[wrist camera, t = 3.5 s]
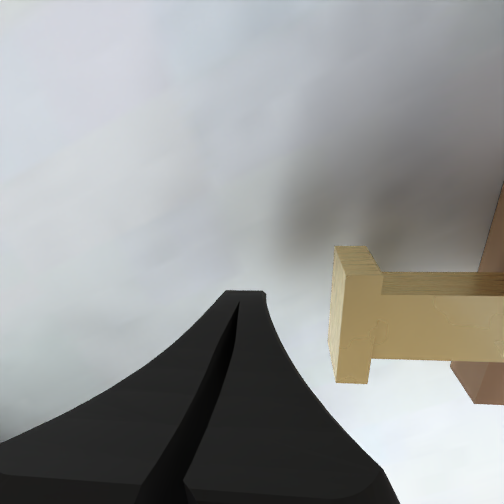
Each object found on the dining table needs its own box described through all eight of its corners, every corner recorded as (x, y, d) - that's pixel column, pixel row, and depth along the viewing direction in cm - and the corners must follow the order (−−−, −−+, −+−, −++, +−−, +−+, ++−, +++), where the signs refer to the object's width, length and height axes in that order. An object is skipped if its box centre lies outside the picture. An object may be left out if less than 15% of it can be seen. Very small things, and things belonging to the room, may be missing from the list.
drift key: (530, 245, 10) (587, 276, 8) (494, 345, 11) (534, 390, 10) (334, 245, 10) (345, 275, 9) (327, 341, 12) (335, 382, 10)
